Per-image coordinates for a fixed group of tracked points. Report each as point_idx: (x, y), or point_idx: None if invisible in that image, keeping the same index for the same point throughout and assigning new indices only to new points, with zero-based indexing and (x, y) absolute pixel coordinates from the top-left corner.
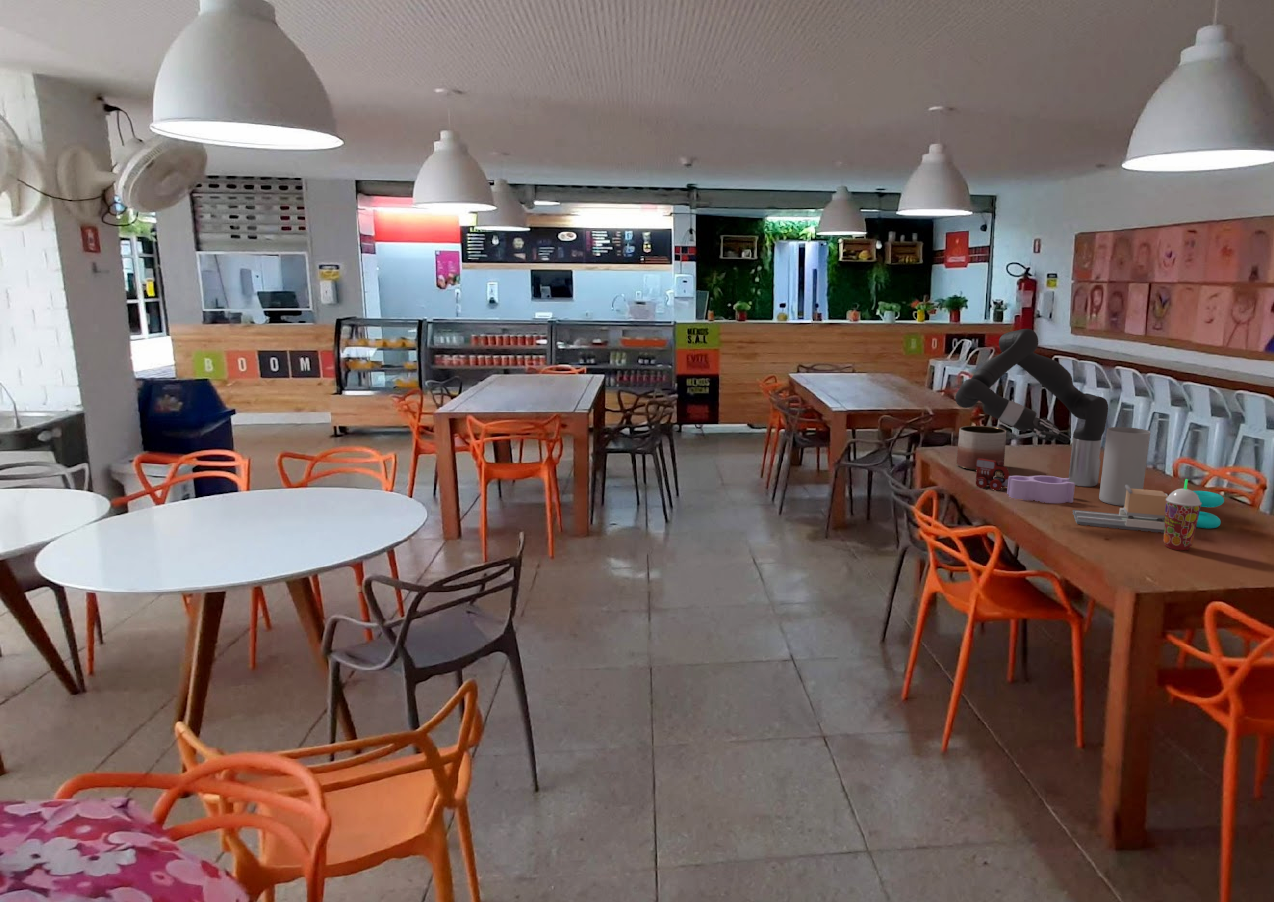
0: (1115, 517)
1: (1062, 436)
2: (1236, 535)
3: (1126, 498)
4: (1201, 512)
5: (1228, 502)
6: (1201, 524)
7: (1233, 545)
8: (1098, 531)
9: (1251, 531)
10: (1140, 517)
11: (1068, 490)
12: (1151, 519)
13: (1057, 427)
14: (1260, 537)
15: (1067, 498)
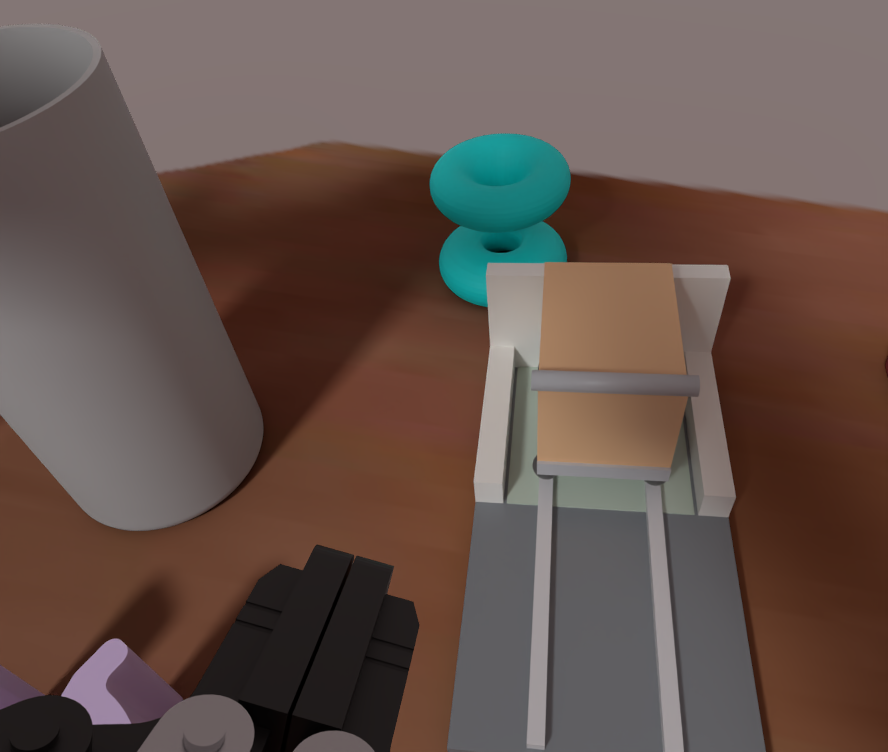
0: (558, 531)
1: (367, 680)
2: (610, 219)
3: (573, 426)
4: (477, 235)
5: (181, 176)
6: None
7: (757, 244)
8: (865, 679)
9: None
10: None
11: (133, 701)
12: None
13: (27, 699)
14: (604, 181)
15: None
